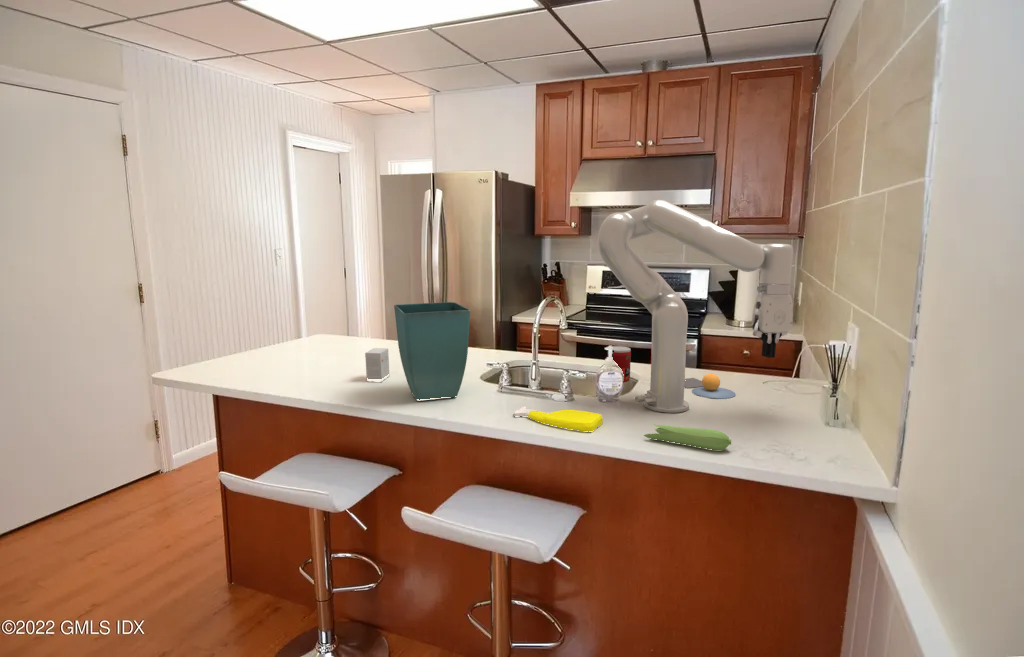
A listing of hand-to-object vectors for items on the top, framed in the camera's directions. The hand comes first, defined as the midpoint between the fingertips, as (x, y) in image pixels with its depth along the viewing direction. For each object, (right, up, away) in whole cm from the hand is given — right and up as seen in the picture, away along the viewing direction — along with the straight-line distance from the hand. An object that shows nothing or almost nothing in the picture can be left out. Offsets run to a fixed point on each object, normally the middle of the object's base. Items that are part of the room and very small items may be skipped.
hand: (768, 356), depth 152 cm
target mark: (-6, -13, +23) cm, 27 cm away
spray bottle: (-58, -18, -1) cm, 61 cm away
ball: (-6, -9, +25) cm, 28 cm away
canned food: (-33, -10, +40) cm, 53 cm away
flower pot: (-95, -14, +23) cm, 99 cm away
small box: (-117, -11, +43) cm, 126 cm away
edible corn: (-28, -21, -19) cm, 40 cm away
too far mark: (-10, -11, +34) cm, 38 cm away
